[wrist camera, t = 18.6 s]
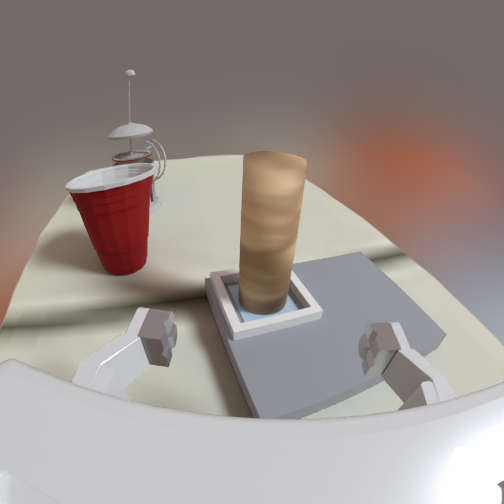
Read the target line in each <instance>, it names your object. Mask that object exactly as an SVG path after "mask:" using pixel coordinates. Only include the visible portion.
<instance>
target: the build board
mask: <svg viewBox="0 0 504 504" xmlns="http://www.w3.org/2000/svg"><path fill="white" fill-rule="evenodd" d="M205 286H206V295H207V298H208V301H209V304H210V307H211V310H212V313H213V315H214V318H215V321H216V324H217V326H218V329H219V332H220V335H221V337H222V340H223V343H224V345H225V348H226V351H227V353H228V356H229V359H230V361H231V364H232V366H233V369H234V372H235V374H236V377H237V379H238V382H239V384H240V387H241V389H242V392H243V394H244V396H245V399H246V401H247V404H248V406H249V408H250V411H251V413H252V416H253V418H260V419H299V418H302V417H305V416H307V415H310V414H312V413H315V412H317V411H320V410H322V409H325V408H327V407H330V406H332V405H334V404H336V403H339V402H341V401H343V400H345V399H348V398H350V397H352V396H354V395H356V394H358V393H360V392H362V391H364V390H366V389H368V388H370V387H372V386H374V385H376V384H378V383H380V382H382V381H384V379H383V378H382V377H381V376H382V375H380V376H364V372H363V368H362V362H363V361H364V360H363V359H362V358H361V357H360V356H359V352H358V343H359V340H360V337H361V336H362V335H363V334H364V333H365V330H364V328H365V326H366V325H367V324H368V323H383V322H387V323H388V322H399V323H400V325H401V327H402V329H403V332H404V334H405V336H406V339H407V341H408V343H409V346H410V348H411V349H414V350H415V351H417V352H418V353H419V354H420V355H422V356H423V357H424V356H426V355H427V354H429V353H430V352H432V351H433V350H435V349H436V348H438V347H439V345H440V344H441V342H442V341H443V339H444V338H445V336H446V333H445V332H444V331H443V330H442V329H441V328H440V327H439V326H438V325H437V324H436V323H435V322H434V321H433V320H432V319H431V318H430V317H429V316H428V315H427V314H426V313H425V312H424V311H423V310H422V309H421V308H420V307H419V306H418V305H417V304H416V303H415V302H414V301H413V300H412V299H411V298H410V297H409V296H408V295H407V294H406V293H405V292H404V291H403V290H402V289H401V288H399V287H398V286H397V285H396V284H395V283H394V282H393V281H392V280H391V279H390V278H389V277H388V276H387V275H386V274H385V273H383V272H382V271H381V270H380V269H379V268H378V267H377V266H376V265H375V264H374V263H372V262H371V261H370V260H369V259H368V258H367V257H366V256H365V255H363V254H362V253H361V252H357V253H352V254H346V255H341V256H335V257H330V258H324V259H319V260H313V261H308V262H302V263H296V264H293V266H292V272H291V278H290V284H289V290H288V296H287V301H286V305H285V307H284V308H283V309H282V310H281V311H279V312H277V313H275V314H271V315H257V314H253V313H251V312H249V311H247V310H245V309H244V308H243V307H242V306H241V304H240V303H239V299H238V298H239V268H236V269H230V270H224V271H217V272H211V273H210V278H206V279H205Z"/></svg>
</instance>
